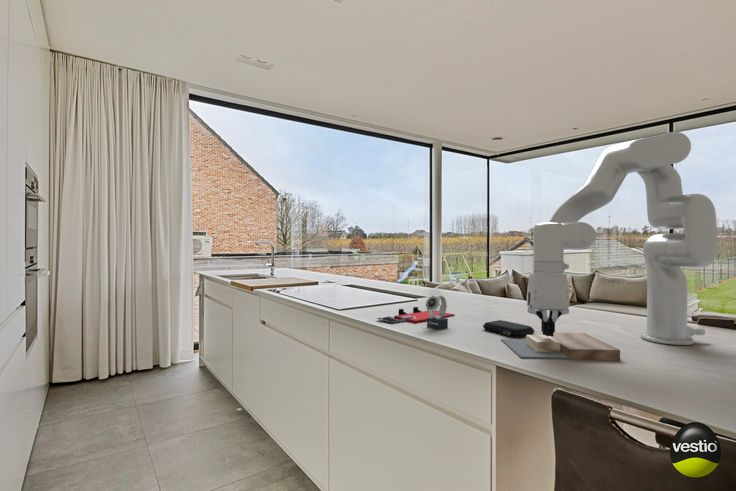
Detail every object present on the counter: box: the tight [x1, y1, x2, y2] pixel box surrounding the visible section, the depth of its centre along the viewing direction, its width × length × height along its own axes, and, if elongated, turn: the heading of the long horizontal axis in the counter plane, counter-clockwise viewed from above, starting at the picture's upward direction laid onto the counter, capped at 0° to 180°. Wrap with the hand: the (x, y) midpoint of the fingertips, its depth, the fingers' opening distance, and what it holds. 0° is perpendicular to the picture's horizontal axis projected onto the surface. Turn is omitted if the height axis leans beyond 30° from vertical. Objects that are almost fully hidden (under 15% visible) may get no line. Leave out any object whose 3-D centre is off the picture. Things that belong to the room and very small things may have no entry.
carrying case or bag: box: [482, 319, 535, 339], centre depth 126 cm, size 11×3×15 cm
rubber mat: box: [500, 338, 571, 360], centre depth 107 cm, size 12×18×1 cm, turn 176°
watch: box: [425, 294, 449, 330], centre depth 134 cm, size 6×8×11 cm
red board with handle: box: [376, 306, 456, 325], centre depth 151 cm, size 30×3×15 cm
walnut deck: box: [542, 332, 621, 361], centre depth 106 cm, size 12×18×2 cm, turn 176°
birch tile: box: [525, 334, 560, 352], centre depth 107 cm, size 6×8×2 cm
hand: (548, 335), depth 106 cm, fingers closed
